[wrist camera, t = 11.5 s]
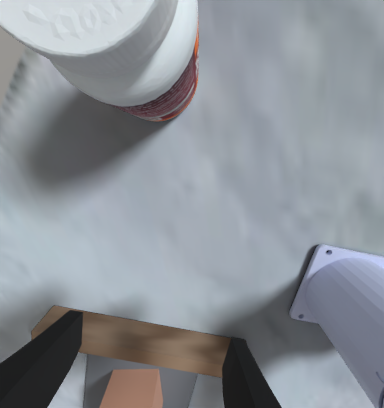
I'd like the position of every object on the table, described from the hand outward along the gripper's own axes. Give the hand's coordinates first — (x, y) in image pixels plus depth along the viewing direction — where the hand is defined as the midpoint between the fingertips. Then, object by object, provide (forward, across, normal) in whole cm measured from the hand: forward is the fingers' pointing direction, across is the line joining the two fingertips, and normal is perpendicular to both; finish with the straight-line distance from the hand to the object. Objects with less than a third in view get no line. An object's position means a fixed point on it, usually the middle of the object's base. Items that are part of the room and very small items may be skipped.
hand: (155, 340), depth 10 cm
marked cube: (+9, +1, +18) cm, 20 cm away
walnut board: (+9, +1, +10) cm, 14 cm away
